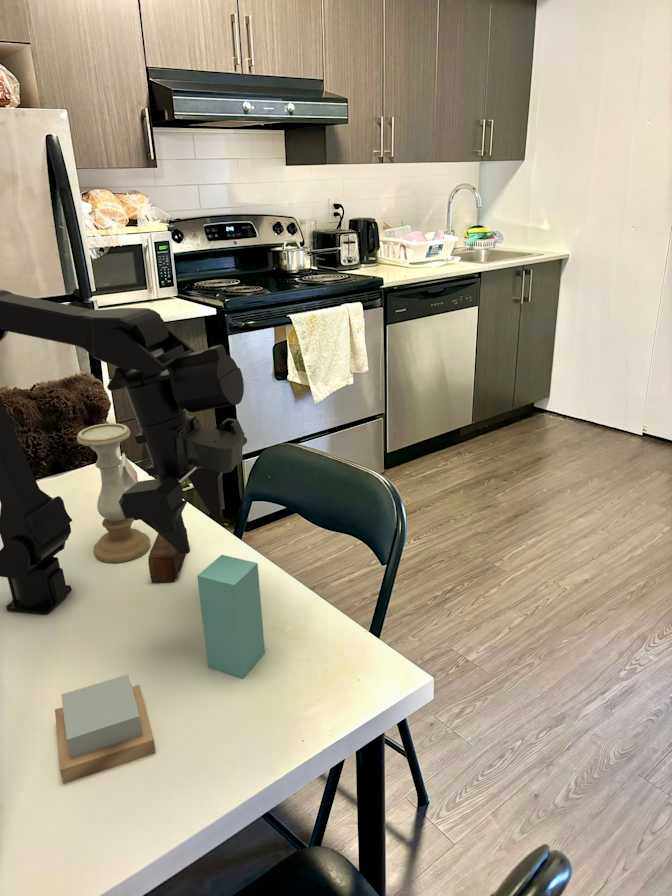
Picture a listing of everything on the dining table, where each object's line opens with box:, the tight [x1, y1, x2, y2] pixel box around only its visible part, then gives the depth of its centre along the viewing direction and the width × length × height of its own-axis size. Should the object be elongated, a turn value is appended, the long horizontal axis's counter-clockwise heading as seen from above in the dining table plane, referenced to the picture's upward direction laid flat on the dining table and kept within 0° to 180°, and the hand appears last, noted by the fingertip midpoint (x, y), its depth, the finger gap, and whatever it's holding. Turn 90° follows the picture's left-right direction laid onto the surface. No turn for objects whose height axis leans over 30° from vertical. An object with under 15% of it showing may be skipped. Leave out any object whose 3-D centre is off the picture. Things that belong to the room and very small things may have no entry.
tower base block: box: [54, 684, 156, 785], centre depth 72 cm, size 9×9×2 cm
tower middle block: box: [60, 674, 143, 759], centre depth 71 cm, size 7×7×2 cm
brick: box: [147, 527, 189, 584], centre depth 103 cm, size 11×4×5 cm, turn 2°
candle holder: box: [76, 422, 151, 564], centre depth 105 cm, size 9×9×20 cm
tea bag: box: [119, 452, 139, 490], centre depth 120 cm, size 4×7×10 cm, turn 17°
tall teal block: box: [196, 554, 266, 679], centre depth 80 cm, size 5×5×13 cm
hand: (202, 534), depth 84 cm, fingers open, 9 cm apart
